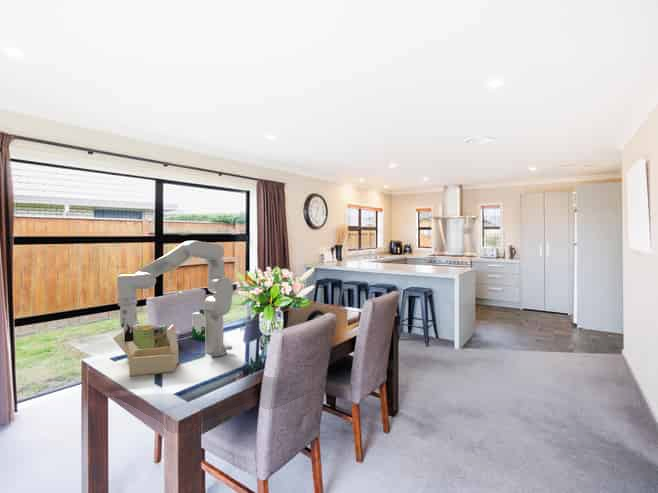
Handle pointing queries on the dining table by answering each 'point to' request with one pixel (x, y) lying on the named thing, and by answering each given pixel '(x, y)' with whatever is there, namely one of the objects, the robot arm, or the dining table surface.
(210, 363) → the dining table surface
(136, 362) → the carton
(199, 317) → the milk carton
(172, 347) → the flap
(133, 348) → the flap
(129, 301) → the robot arm
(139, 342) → the protein box
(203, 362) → the dining table surface
